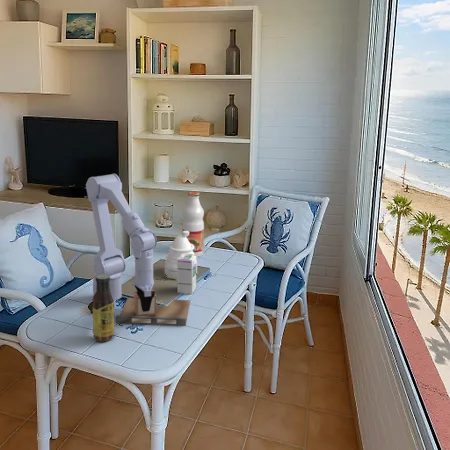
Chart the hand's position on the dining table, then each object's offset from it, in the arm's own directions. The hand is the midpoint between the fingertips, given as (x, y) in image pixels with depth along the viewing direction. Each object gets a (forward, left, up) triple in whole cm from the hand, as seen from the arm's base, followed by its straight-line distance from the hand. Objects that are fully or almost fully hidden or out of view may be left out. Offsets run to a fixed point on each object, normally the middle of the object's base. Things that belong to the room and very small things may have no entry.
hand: (144, 307), depth 161 cm
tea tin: (0, 0, -2) cm, 2 cm away
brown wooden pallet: (+3, +2, -4) cm, 5 cm away
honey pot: (+8, +37, -4) cm, 39 cm away
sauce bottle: (-10, -14, -4) cm, 17 cm away
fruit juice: (+11, +60, -4) cm, 62 cm away
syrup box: (+12, +19, -4) cm, 23 cm away
